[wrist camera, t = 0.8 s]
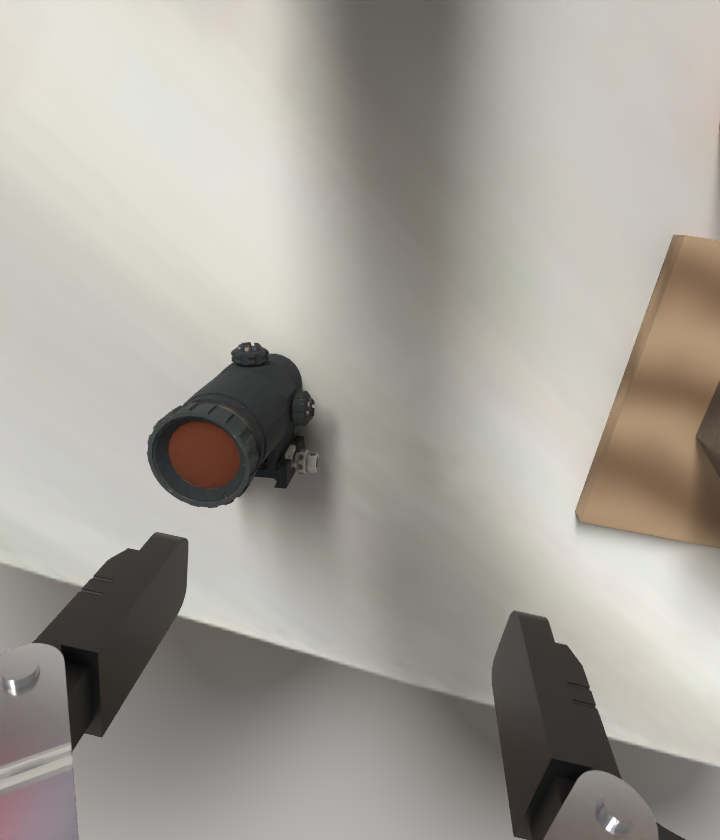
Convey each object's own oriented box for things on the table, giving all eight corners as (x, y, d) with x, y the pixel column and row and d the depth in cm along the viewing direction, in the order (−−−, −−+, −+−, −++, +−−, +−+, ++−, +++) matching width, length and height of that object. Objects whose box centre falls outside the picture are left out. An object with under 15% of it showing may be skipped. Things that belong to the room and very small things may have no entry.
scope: (133, 556, 28) (106, 379, 24) (225, 450, 41) (216, 324, 37) (280, 571, 27) (274, 390, 23) (327, 458, 40) (327, 330, 36)
